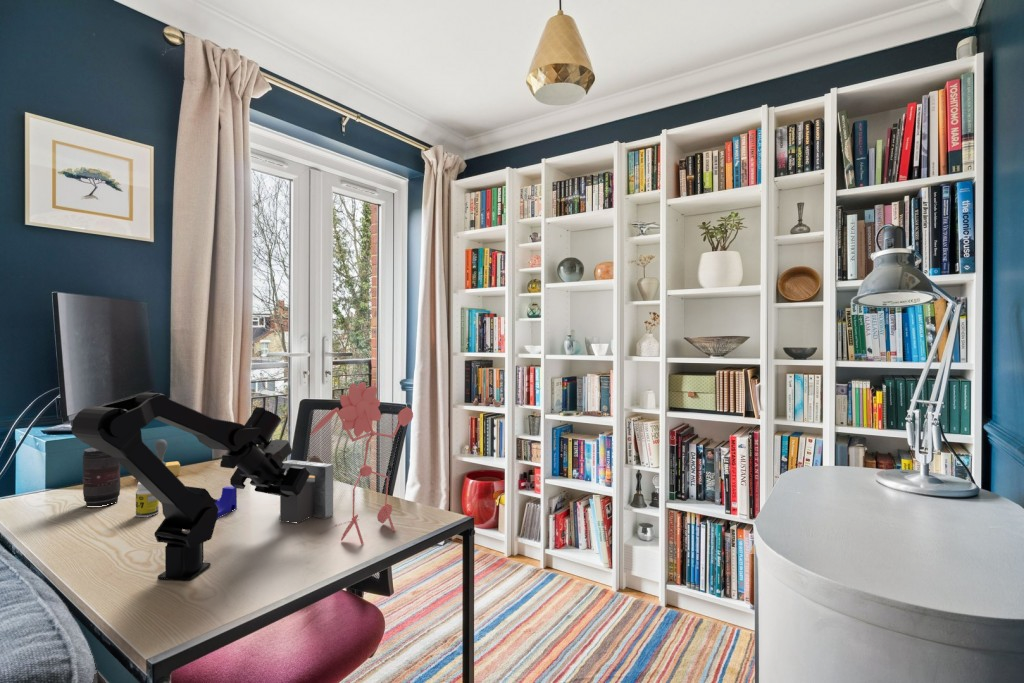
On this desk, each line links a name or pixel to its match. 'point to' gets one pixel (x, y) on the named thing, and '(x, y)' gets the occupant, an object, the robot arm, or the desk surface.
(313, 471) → the frame
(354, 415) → the figurine
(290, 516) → the plug
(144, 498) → the supplement bottle
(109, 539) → the desk surface
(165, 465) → the robot arm
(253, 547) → the desk surface
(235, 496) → the cable clip
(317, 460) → the vase
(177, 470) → the rubber stamp
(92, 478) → the camera lens
